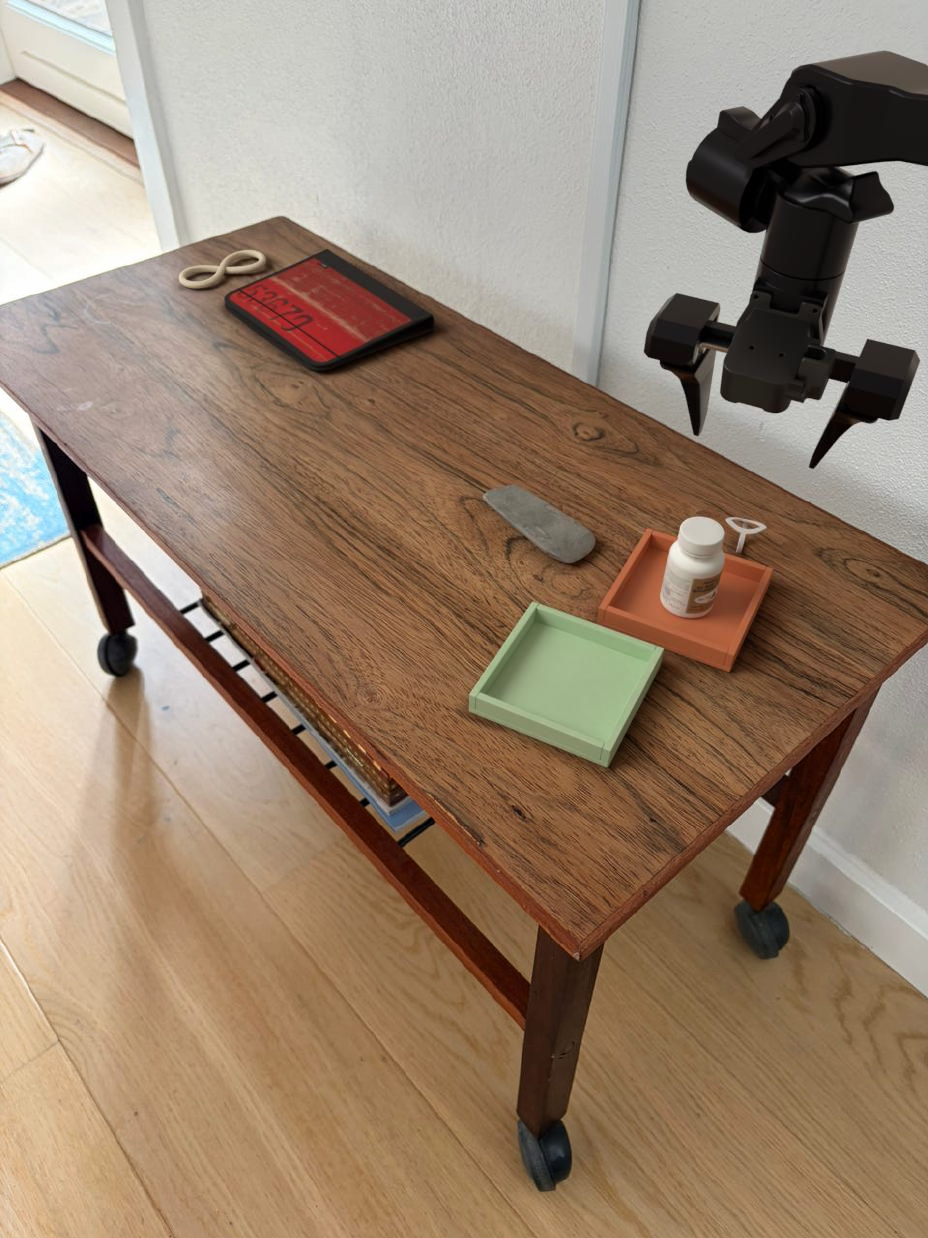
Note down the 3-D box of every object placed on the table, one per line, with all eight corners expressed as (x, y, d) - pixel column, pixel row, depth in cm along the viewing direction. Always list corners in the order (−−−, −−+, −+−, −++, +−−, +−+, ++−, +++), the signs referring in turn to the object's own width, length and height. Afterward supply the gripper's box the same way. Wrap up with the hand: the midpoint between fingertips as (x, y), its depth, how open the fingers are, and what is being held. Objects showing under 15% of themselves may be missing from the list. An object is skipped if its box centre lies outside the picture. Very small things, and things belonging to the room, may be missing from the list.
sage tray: (660, 665, 80) (664, 648, 79) (607, 768, 73) (610, 751, 72) (531, 618, 84) (532, 600, 82) (468, 711, 77) (468, 694, 75)
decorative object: (274, 266, 126) (254, 251, 129) (272, 258, 125) (252, 243, 128) (191, 294, 121) (172, 278, 124) (189, 286, 120) (170, 270, 123)
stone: (604, 539, 89) (563, 562, 86) (601, 552, 90) (561, 575, 87) (512, 473, 95) (471, 493, 92) (510, 486, 96) (470, 506, 93)
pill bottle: (697, 628, 82) (715, 556, 77) (649, 604, 84) (663, 533, 79) (722, 598, 85) (741, 526, 79) (675, 576, 87) (691, 504, 81)
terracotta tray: (768, 585, 87) (774, 568, 85) (729, 672, 80) (734, 655, 78) (644, 544, 90) (647, 527, 89) (596, 624, 83) (598, 607, 82)
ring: (737, 562, 88) (744, 535, 86) (718, 545, 90) (724, 518, 88) (760, 554, 89) (767, 527, 87) (740, 537, 91) (747, 510, 89)
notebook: (328, 246, 125) (435, 312, 114) (330, 263, 127) (436, 330, 116) (214, 291, 118) (317, 366, 107) (218, 309, 120) (320, 385, 109)
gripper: (631, 279, 67) (605, 471, 78) (925, 350, 61) (851, 546, 72) (685, 214, 74) (654, 398, 85) (953, 272, 68) (882, 461, 79)
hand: (753, 449), depth 80 cm, fingers open, 9 cm apart
